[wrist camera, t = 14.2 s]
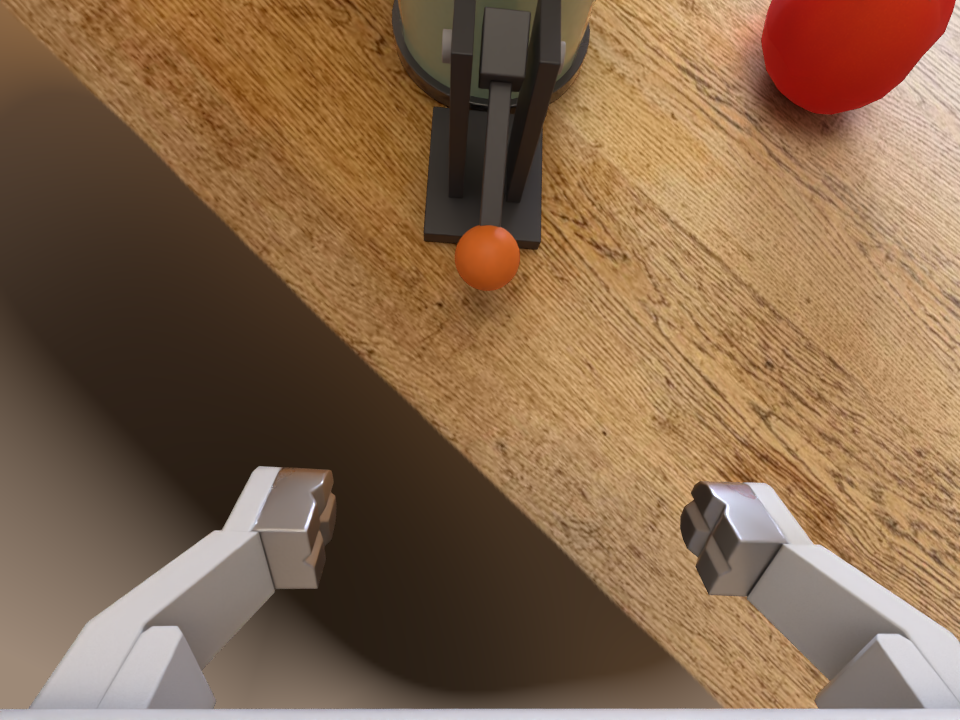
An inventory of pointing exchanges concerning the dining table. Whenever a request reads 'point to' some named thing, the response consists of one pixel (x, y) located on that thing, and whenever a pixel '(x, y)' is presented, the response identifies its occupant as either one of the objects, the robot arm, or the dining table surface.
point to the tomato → (847, 48)
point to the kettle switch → (495, 150)
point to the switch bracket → (465, 131)
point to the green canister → (477, 44)
